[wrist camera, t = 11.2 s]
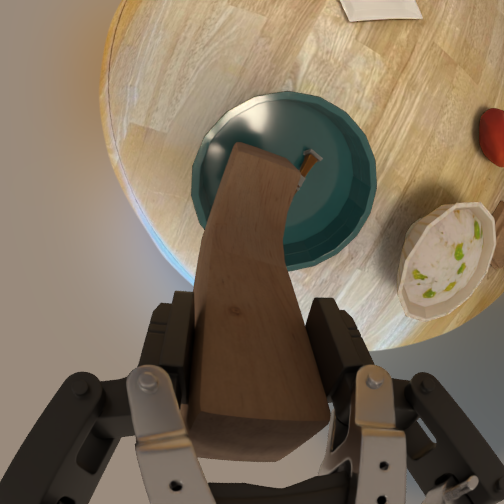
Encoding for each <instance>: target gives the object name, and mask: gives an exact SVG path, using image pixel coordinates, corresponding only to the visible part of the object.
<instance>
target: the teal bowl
mask: <svg viewBox="0 0 504 504" xmlns="http://www.w3.org/2000/svg"><path fill="white" fill-rule="evenodd" d="M236 142H242V143H245V144H248V145H251V146H254V147H257V148H260V149H262V150H265V151H268V152H271V153H273V154H276V155H279V156H281V157H284V158H287V159H288V160H289V161H290V162H291V163H292V164H293V165H294V166H295V167H296V168H297V169H298V170H300V168H301V166H302V163H303V161H304V158H305V155H303V153H304V151H306V150H309V149H312V150H313V151H314V152H316V153H317V154H318V155H319V156H320V157H322V158H323V159H322V160H321V161H319V162H316V163H315V164H314V165H313V167H312V168H311V169H310V171H309V172H308V173H307V175H306V177H305V178H306V179H305V180H304V182H303V184H302V186H301V187H299V189H300V190H299V191H297V192H296V193H295V195H294V197H293V199H292V200H293V201H292V202H291V204H290V207H289V210H288V212H287V218H286V224H285V230H284V236H283V249H284V260H285V264H286V267H287V271H294V270H298V269H303V268H307V267H312V266H315V265H317V264H319V263H321V262H323V261H325V260H327V259H329V258H330V257H332V256H334V255H336V254H337V253H339V252H340V251H341V250H342V249H343V248H344V247H345V246H347V245H348V244H349V243H350V242H351V241H352V240H353V239H354V238H355V237H356V236H357V235H358V233H359V231H360V230H361V228H362V227H363V225H364V223H365V222H366V220H367V218H368V216H369V215H370V213H371V209H372V205H373V201H374V197H375V193H376V189H377V179H376V162H375V158H374V155H373V153H372V150H371V147H370V145H369V142H368V140H367V138H366V135H365V134H364V132H363V131H362V130H361V129H360V128H359V126H358V125H357V124H356V123H355V122H354V121H353V119H352V118H351V117H350V116H349V115H348V114H347V113H346V112H345V111H343V110H342V109H340V108H338V107H337V106H335V105H333V104H332V103H330V102H328V101H326V100H324V99H323V98H321V97H318V96H313V95H308V94H303V93H297V92H291V91H284V92H277V93H271V94H265V95H259V96H255V97H253V98H251V99H249V100H247V101H245V102H243V103H241V104H240V105H238V106H236V107H234V108H232V109H231V110H229V111H227V112H226V113H225V114H224V115H223V116H222V117H221V118H220V119H219V121H218V122H217V123H216V124H215V125H214V126H213V127H212V128H211V130H210V131H209V132H208V133H207V134H206V135H205V137H204V139H203V141H202V143H201V146H200V148H199V151H198V153H197V156H196V158H195V161H194V163H193V166H192V185H191V197H192V200H193V204H194V207H195V210H196V214H197V217H198V220H199V223H200V225H201V226H202V227H203V229H204V230H205V227H206V224H207V221H208V218H209V215H210V212H211V209H212V206H213V203H214V200H215V197H216V194H217V191H218V188H219V185H220V182H221V180H222V177H223V174H224V171H225V168H226V165H227V163H228V160H229V157H230V154H231V151H232V149H233V146H234V145H235V143H236Z"/></svg>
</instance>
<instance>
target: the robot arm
mask: <svg viewBox="0 0 504 504" xmlns="http://www.w3.org/2000/svg"><path fill="white" fill-rule="evenodd" d="M305 327H306V331H307V334H308V337H309V340H310V344H311V347H312V350H313V354H314V357H315V360H316V364H317V367H318V371H319V374H320V377H321V381H322V384H323V388H324V391H325V395H326V398H327V402H328V403H331V402H333V406H334V409H333V411H332V412H331V417H330V425H329V433H328V441H327V448H326V454H325V458H324V460H323V462H322V464H321V466H320V469H319V473H318V476H315V477H313V478H311V479H308V480H305V481H303V482H300V483H297V484H294V485H292V486H289V487H286V488H272V487H264V486H259V485H253V484H247V483H207V481H206V479H205V476H204V473H203V471H202V468H201V466H200V463H199V461H198V459H197V456H196V453H195V450H194V447H193V445H192V442H191V439H190V437H189V435H188V433H187V431H186V428H185V425H184V422H183V419H182V415H181V412H180V409H181V404H187V405H188V394H189V382H190V371H191V360H192V350H193V340H194V331H195V304H194V292H186V291H175V293H174V297H173V301H172V304H169V303H160V305H159V306H158V307H157V308H156V309H155V310H154V311H153V314H152V317H151V321H150V324H149V328H148V332H147V335H146V338H145V342H144V346H143V349H142V353H141V357H140V361H139V364H138V366H137V368H135V369H134V370H132V371H131V372H130V374H129V375H128V376H127V377H125V378H122V379H118V380H110V381H101V382H100V381H99V379H98V378H97V377H96V376H95V375H93V374H91V373H88V372H77V373H74V374H72V375H71V376H69V377H68V378H67V379H66V380H65V381H64V383H63V384H62V386H61V387H60V388H59V390H58V391H57V393H56V394H55V396H54V397H53V398H52V400H51V401H50V403H49V404H48V405H47V407H46V408H45V410H44V412H43V413H42V414H41V416H40V417H39V419H38V420H37V422H36V424H35V425H34V427H33V428H32V430H31V431H30V433H29V434H28V436H27V437H26V439H25V441H24V442H23V444H22V445H21V447H20V449H19V450H18V452H17V454H16V455H15V457H14V459H13V460H12V462H11V464H10V466H9V467H8V469H7V471H6V473H5V475H4V476H3V478H2V480H1V482H0V504H88V503H89V501H90V499H91V497H92V495H93V493H94V491H95V489H96V487H97V485H98V482H99V481H100V479H101V477H102V474H103V473H104V471H105V468H106V467H107V464H108V462H109V461H110V459H111V457H112V455H113V453H114V451H115V449H116V447H117V445H118V443H119V441H120V439H121V437H125V436H133V435H135V436H136V444H135V450H136V455H137V460H138V463H139V467H140V471H141V475H142V479H143V482H144V485H145V489H146V492H147V495H148V498H149V501H150V504H405V500H406V467H407V469H408V470H409V472H410V473H411V475H412V476H413V478H414V479H415V481H416V482H417V484H418V485H419V487H420V488H421V490H422V491H423V493H424V494H425V496H426V498H425V500H424V501H423V502H422V504H496V503H498V502H500V501H502V500H503V499H504V465H503V464H502V463H501V461H500V460H499V458H498V457H497V455H496V454H495V453H494V451H493V450H492V449H491V447H490V446H489V444H488V443H487V442H486V440H485V439H484V438H483V437H482V435H481V434H480V433H479V431H478V430H477V428H476V427H475V426H474V425H473V423H472V422H471V421H470V419H469V418H468V417H467V416H466V414H465V413H464V412H463V411H462V409H461V408H460V407H459V406H458V404H457V403H456V402H455V401H454V399H453V398H452V397H451V396H450V395H449V393H448V392H447V391H446V390H445V388H444V387H443V386H442V385H441V384H440V382H439V381H438V380H437V379H436V378H435V377H434V376H433V375H431V374H429V373H425V372H420V373H418V374H416V375H415V376H414V377H413V378H412V379H411V380H410V381H408V380H399V379H394V378H391V376H390V375H389V373H388V372H387V371H386V370H385V369H383V368H382V367H380V366H377V365H374V362H373V360H372V358H371V356H370V354H369V351H368V349H367V347H366V345H365V343H364V341H363V339H362V337H361V334H360V332H359V330H357V326H356V324H355V322H354V320H353V318H352V317H351V316H350V315H349V314H348V313H347V312H346V311H345V310H339V308H338V306H337V304H336V302H335V300H334V298H314V300H313V302H312V306H311V309H310V312H309V315H308V319H307V322H306V325H305ZM418 418H421V419H422V421H423V422H424V423H425V424H426V426H427V427H428V429H429V430H430V431H431V433H432V434H433V435H434V437H435V438H436V441H437V443H433V442H432V441H431V440H430V438H429V437H428V436H427V434H426V433H425V432H424V430H423V429H422V428H421V426H420V425H419V423H418V422H417V420H418Z"/></svg>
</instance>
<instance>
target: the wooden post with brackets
mask: <svg viewBox="0 0 504 504" xmlns="http://www.w3.org/2000/svg"><path fill="white" fill-rule="evenodd" d="M303 155H305V158H304V161H303V163H302V166H301V168H300V170H299V171H300V172H301V178H300V180H299V183H298V186H297V188H296V191H295V193H296V192H297V191H299V190H300V189H299V187H301V186H302V184H303V182H304V180H305V179H306V178H305V177H306V175H307V173H308V172H309V171H310V169H311V168H312V167H313V165H314V164H315V163H316V162H319V161H321V160H322V159H323V158H322V157H320V156H319V155H318V154H317V153H316V152H314V151H313V150H312V149H309V150H306V151H304V153H303ZM294 195H295V194H294ZM293 197H294V196H293ZM292 201H293V200H292Z"/></svg>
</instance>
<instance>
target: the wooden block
mask: <svg viewBox="0 0 504 504" xmlns="http://www.w3.org/2000/svg"><path fill="white" fill-rule="evenodd" d="M300 178H301V172H300V171H299V170H298V169H297V168H296V167H295V166H294V165H293V164H292V163H291V162H290V161H289V160H288V159H287V158H284V157H281V156H279V155H276V154H273V153H271V152H268V151H265V150H262V149H260V148H257V147H254V146H251V145H248V144H245V143H242V142H236V143H235V145H234V146H233V149H232V151H231V154H230V157H229V160H228V163H227V165H226V168H225V171H224V174H223V177H222V180H221V182H220V185H219V188H218V191H217V194H216V197H215V200H214V203H213V206H212V209H211V212H210V215H209V218H208V221H207V224H206V227H205V231H204V234H203V237H202V241H201V247H200V252H199V258H198V264H197V270H196V276H195V282H194V289H193V292H194V304H195V331H194V340H193V350H192V360H191V371H190V382H189V394H188V405H187V404H181V409H180V412H181V415H182V419H183V422H184V425H185V428H186V431H187V433H188V435H189V437H190V439H191V442H192V445H193V447H194V450H195V453H196V456H197V457H201V458H208V459H209V458H210V459H219V460H231V461H251V462H276V461H278V460H280V459H282V458H284V457H285V456H287V455H288V454H290V453H291V452H292V451H294V450H295V449H297V448H298V447H299V446H301V445H302V444H303V443H305V442H306V441H307V440H309V439H310V438H311V437H313V436H314V435H315V434H317V433H318V432H319V431H320V430H322V429H323V428H324V427H325V426H326V425H328V423H329V421H330V416H331V413H330V409H329V405H328V402H327V398H326V395H325V391H324V388H323V384H322V381H321V377H320V374H319V371H318V367H317V364H316V360H315V357H314V354H313V350H312V347H311V344H310V340H309V337H308V334H307V331H306V327H305V324H304V321H303V318H302V314H301V311H300V308H299V305H298V302H297V299H296V295H295V292H294V289H293V286H292V283H291V280H290V277H289V274H288V271H287V267H286V264H285V260H284V249H283V236H284V230H285V224H286V218H287V212H288V210H289V207H290V204H291V202H292V199H293V196H294V194H295V191H296V188H297V186H298V183H299V180H300Z"/></svg>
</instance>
